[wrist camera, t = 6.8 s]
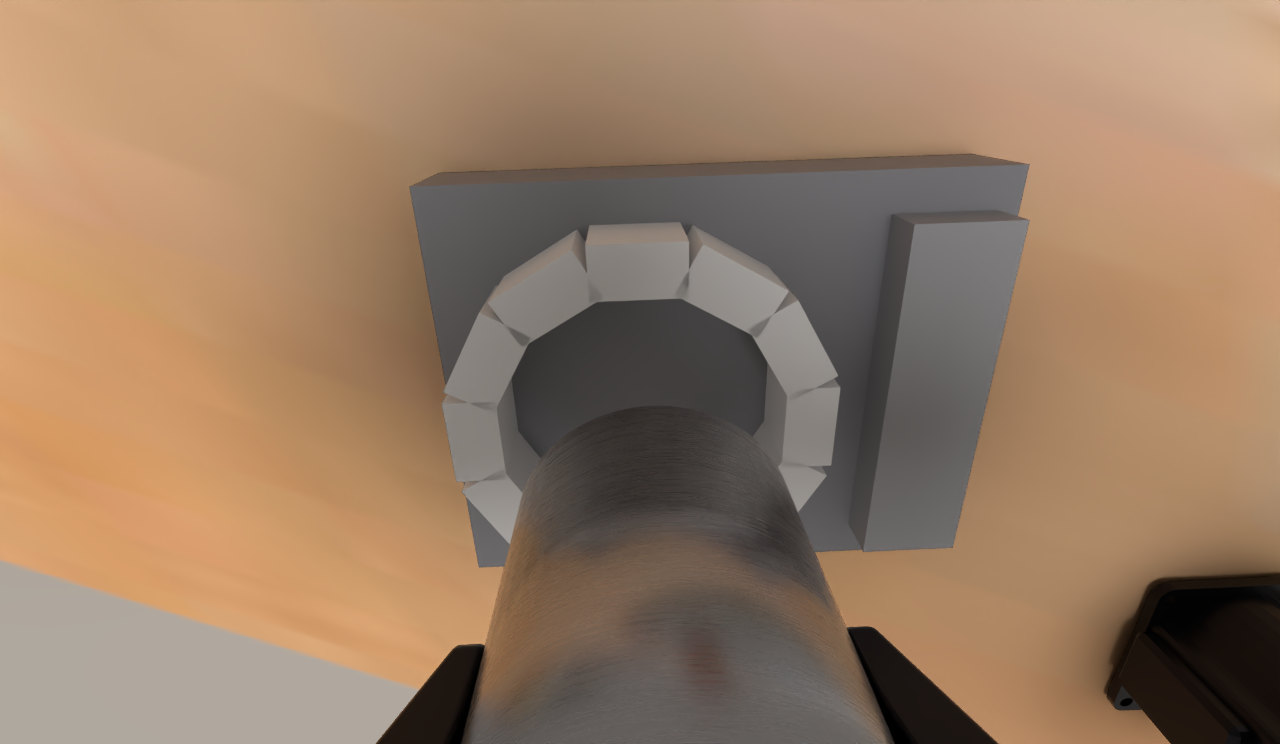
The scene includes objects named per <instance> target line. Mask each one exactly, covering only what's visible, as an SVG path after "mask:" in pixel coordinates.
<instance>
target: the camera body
mask: <svg viewBox="0 0 1280 744" xmlns="http://www.w3.org/2000/svg"><path fill="white" fill-rule="evenodd" d="M1029 165H1030V164H1024V163H1019V162H1013V161H1008V160H1002V159H997V158H991V157H986V156H980V155H975V154H956V155H927V156H899V157H871V158H843V159H815V160H786V161H758V162H730V163H702V164H674V165H646V166H617V167H589V168H561V169H533V170H505V171H476V172H448V173H438V174H436V175H433V176H431V177H429V178H427V179H425V180H423V181H421V182H418V183H416V184H414V185H412V186H410V193H411V198H412V204H413V209H414V214H415V220H416V225H417V231H418V236H419V242H420V247H421V253H422V258H423V264H424V269H425V275H426V280H427V286H428V291H429V297H430V302H431V308H432V313H433V319H434V324H435V329H436V335H437V340H438V346H439V351H440V357H441V362H442V368H443V373H444V379H445V384H446V387H445V389H444V391H443V393H446V394H447V395H446V397H445V399H444V401H443V403H442V408H443V414H444V419H445V424H446V430H447V435H448V440H449V446H450V451H451V456H452V462H453V467H454V472H455V477H456V482H463V483H464V487H463V489H462V493H463V494H464V495H465V496H466V499H467V505H468V510H469V516H470V521H471V527H472V532H473V538H474V543H475V548H476V554H477V559H478V565H479V567H499V566H505V562H506V558H507V554H508V550H509V546H510V542H511V538H512V534H513V529H514V525H515V521H516V517H517V513H518V509H519V505H520V501H521V497H522V494H523V490H524V487H525V485H526V483H527V480H528V478H529V476H530V474H531V472H532V471H533V469H534V467H535V466H536V464H537V463H538V461H539V460H540V459H541V458H542V456H543V455H544V454H545V453H546V452H547V451H548V450H549V449H550V447H551V446H553V445H554V444H555V443H556V442H557V441H558V440H560V439H561V438H562V437H563V436H564V435H566V434H567V433H569V432H571V431H572V430H574V429H575V428H577V427H578V426H580V425H582V424H584V423H586V422H588V421H590V420H592V419H594V418H597V417H600V416H603V415H605V414H608V413H611V412H614V411H619V410H624V409H628V408H633V407H643V406H675V407H683V408H690V409H694V410H698V411H702V412H706V413H709V414H712V415H714V416H717V417H719V418H722V419H724V420H727V421H728V422H730V423H732V424H734V425H736V426H737V427H739V428H741V429H742V430H744V431H745V432H746V433H748V434H749V435H750V436H752V437H753V438H754V439H756V440H757V441H758V442H759V443H760V444H761V445H762V446H763V447H764V448H765V449H766V450H767V452H768V453H769V454H770V456H771V457H772V458H773V460H774V461H775V463H776V464H777V466H778V468H779V470H780V472H781V474H782V476H783V478H784V480H785V483H786V485H787V487H788V490H789V492H790V494H791V497H792V499H793V502H794V504H795V506H796V509H797V511H798V514H799V516H800V518H801V521H802V523H803V525H804V528H805V530H806V533H807V535H808V537H809V540H810V542H811V544H812V547H813V549H814V552H824V551H845V550H862V551H863V552H871V551H893V550H915V549H936V548H953V544H954V539H955V535H956V531H957V527H958V522H959V518H960V514H961V510H962V505H963V501H964V497H965V493H966V488H967V484H968V480H969V476H970V471H971V467H972V463H973V459H974V454H975V450H976V446H977V442H978V437H979V433H980V429H981V425H982V420H983V416H984V412H985V408H986V403H987V399H988V395H989V391H990V386H991V382H992V378H993V374H994V369H995V365H996V361H997V357H998V352H999V348H1000V344H1001V340H1002V335H1003V331H1004V327H1005V323H1006V318H1007V314H1008V310H1009V306H1010V301H1011V297H1012V293H1013V289H1014V284H1015V280H1016V276H1017V272H1018V267H1019V263H1020V259H1021V254H1022V250H1023V246H1024V242H1025V237H1026V233H1027V229H1028V225H1029V220H1028V219H1025V218H1021V217H1018V213H1019V209H1020V204H1021V200H1022V196H1023V191H1024V187H1025V182H1026V178H1027V173H1028V169H1029Z"/></svg>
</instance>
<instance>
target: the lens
mask: <svg viewBox="0 0 1280 744" xmlns="http://www.w3.org/2000/svg"><path fill="white" fill-rule="evenodd" d="M461 744H895V742H894V740H893V737H892V735H891V733H890V730H889V728H888V725H887V723H886V721H885V718H884V716H883V714H882V711H881V709H880V706H879V704H878V702H877V699H876V697H875V695H874V692H873V690H872V687H871V685H870V683H869V680H868V678H867V675H866V673H865V671H864V668H863V666H862V664H861V661H860V659H859V656H858V654H857V652H856V649H855V647H854V645H853V642H852V640H851V637H850V635H849V633H848V630H847V628H846V625H845V623H844V621H843V618H842V616H841V614H840V611H839V609H838V606H837V604H836V602H835V599H834V597H833V595H832V592H831V590H830V587H829V585H828V583H827V580H826V578H825V575H824V573H823V571H822V568H821V566H820V564H819V561H818V559H817V556H816V554H815V552H814V549H813V547H812V544H811V542H810V540H809V537H808V535H807V533H806V530H805V528H804V525H803V523H802V521H801V518H800V516H799V514H798V511H797V509H796V506H795V504H794V502H793V499H792V497H791V494H790V492H789V490H788V487H787V485H786V483H785V480H784V478H783V476H782V474H781V472H780V470H779V468H778V466H777V464H776V463H775V461H774V460H773V458H772V457H771V456H770V454H769V453H768V452H767V450H766V449H765V448H764V447H763V446H762V445H761V444H760V443H759V442H758V441H757V440H756V439H754V438H753V437H752V436H750V435H749V434H748V433H746V432H745V431H744V430H742V429H741V428H739V427H737V426H736V425H734V424H732V423H730V422H728V421H727V420H724V419H722V418H719V417H717V416H714V415H712V414H709V413H706V412H702V411H698V410H694V409H690V408H683V407H675V406H643V407H633V408H628V409H624V410H619V411H614V412H611V413H608V414H605V415H603V416H600V417H597V418H594V419H592V420H590V421H588V422H586V423H584V424H582V425H580V426H578V427H577V428H575V429H574V430H572V431H571V432H569V433H567V434H566V435H564V436H563V437H562V438H561V439H560V440H558V441H557V442H556V443H555V444H554V445H553V446H551V447H550V449H549V450H548V451H547V452H546V453H545V454H544V455H543V456H542V458H541V459H540V460H539V461H538V463H537V464H536V466H535V467H534V469H533V471H532V472H531V474H530V476H529V478H528V480H527V483H526V485H525V487H524V490H523V494H522V497H521V501H520V505H519V509H518V513H517V517H516V521H515V525H514V529H513V534H512V538H511V542H510V546H509V550H508V554H507V558H506V562H505V566H504V570H503V574H502V578H501V582H500V586H499V591H498V595H497V599H496V603H495V607H494V611H493V615H492V619H491V623H490V627H489V631H488V635H487V639H486V643H485V648H484V652H483V656H482V660H481V664H480V668H479V672H478V676H477V680H476V684H475V688H474V692H473V696H472V700H471V704H470V709H469V713H468V717H467V721H466V725H465V729H464V733H463V737H462V741H461Z"/></svg>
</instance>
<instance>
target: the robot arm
mask: <svg viewBox="0 0 1280 744" xmlns="http://www.w3.org/2000/svg"><path fill="white" fill-rule="evenodd" d="M847 630H848V633H849V635H850V637H851V640H852V642H853V645H854V647H855V649H856V652H857V654H858V656H859V659H860V661H861V664H862V666H863V668H864V671H865V673H866V675H867V678H868V680H869V683H870V685H871V687H872V690H873V692H874V695H875V697H876V699H877V702H878V704H879V706H880V709H881V711H882V714H883V716H884V718H885V721H886V723H887V725H888V728H889V730H890V733H891V735H892V737H893V740H894V742H895V744H998V743H997V742H996V741H995V740H994V739H993V738H992V737H991V736H990V735H989V734H988V733H987V732H985V731H984V730H983V729H982V728H981V727H980V726H979V725H978V724H977V723H976V722H975V721H974V720H973V719H972V718H970V717H969V716H968V715H967V714H966V713H965V712H964V711H963V710H962V709H961V708H960V707H959V706H958V705H957V704H955V703H954V702H953V701H952V700H951V699H950V698H949V697H948V696H947V695H946V694H945V693H944V692H943V691H942V690H940V689H939V688H938V687H937V686H936V685H935V684H934V683H933V682H932V681H931V680H930V679H929V678H928V677H927V676H925V675H924V674H923V673H922V672H921V671H920V670H919V669H918V668H917V667H916V666H915V665H914V664H913V663H912V662H910V661H909V660H908V659H907V658H906V657H905V656H904V655H903V654H902V653H901V652H900V651H899V650H898V649H897V648H895V647H894V646H893V645H892V644H891V643H890V642H889V641H888V640H887V639H886V638H885V637H884V636H883V635H882V634H880V633H879V632H878V631H877V630H876V629H874V628H872V627H868V626H865V627H847ZM484 648H485V646H484V645H482V644H469V645H458V646H456V647H455V648H453V649H452V651H451V652H450V653H449V654H448V655H447V657H446V658H445V659H444V660H443V662H442V663H441V664H440V665H439V667H438V668H437V669H436V670H435V671H434V673H433V674H432V675H431V676H430V678H429V679H428V680H427V681H426V682H425V684H424V685H423V686H422V687H421V689H420V690H419V691H418V692H417V694H416V695H415V696H414V697H413V699H412V700H411V701H410V702H409V703H408V705H407V706H406V707H405V708H404V710H403V711H402V712H401V713H400V714H399V716H398V717H397V718H396V719H395V721H394V722H393V723H392V724H391V726H390V727H389V728H388V729H387V730H386V732H385V733H384V734H383V735H382V737H381V738H380V739H379V740H378V742H377V743H376V744H461V741H462V737H463V733H464V729H465V725H466V721H467V717H468V713H469V709H470V704H471V700H472V696H473V692H474V688H475V684H476V680H477V676H478V672H479V668H480V664H481V660H482V656H483V652H484ZM1107 698H1108V700H1109V701H1110V703H1111V704H1112V705H1113V706H1114V708H1115V709H1117V710H1143V711H1144V713H1145V714H1146V715H1147V716H1148V717H1149V718H1150V720H1151V721H1152V722H1153V723H1154V724H1155V726H1156V727H1157V728H1158V729H1159V730H1160V731H1161V733H1162V734H1163V735H1164V736H1165V737H1166V739H1167V740H1168V741H1169V742H1170V743H1171V744H1280V576H1277V577H1256V578H1235V579H1214V580H1193V581H1172V582H1164V583H1161V584H1159V585H1157V586H1155V587H1154V588H1153V589H1152V591H1151V592H1150V594H1149V596H1148V599H1147V601H1146V603H1145V606H1144V608H1143V611H1142V613H1141V615H1140V618H1139V620H1138V622H1137V625H1136V627H1135V629H1134V632H1133V634H1132V636H1131V639H1130V641H1129V644H1128V646H1127V648H1126V651H1125V653H1124V655H1123V658H1122V660H1121V662H1120V665H1119V667H1118V669H1117V672H1116V674H1115V676H1114V679H1113V681H1112V684H1111V686H1110V688H1109V691H1108V693H1107Z"/></svg>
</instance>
